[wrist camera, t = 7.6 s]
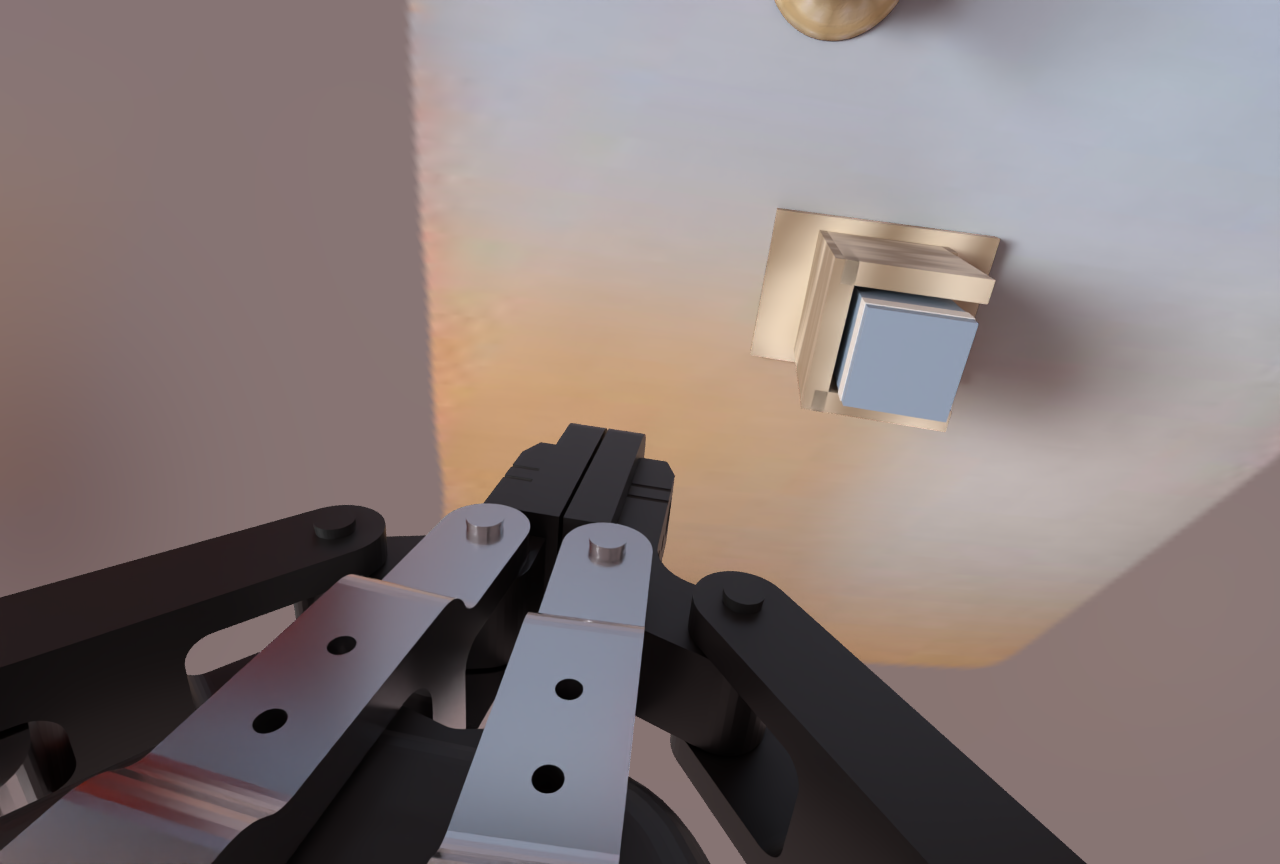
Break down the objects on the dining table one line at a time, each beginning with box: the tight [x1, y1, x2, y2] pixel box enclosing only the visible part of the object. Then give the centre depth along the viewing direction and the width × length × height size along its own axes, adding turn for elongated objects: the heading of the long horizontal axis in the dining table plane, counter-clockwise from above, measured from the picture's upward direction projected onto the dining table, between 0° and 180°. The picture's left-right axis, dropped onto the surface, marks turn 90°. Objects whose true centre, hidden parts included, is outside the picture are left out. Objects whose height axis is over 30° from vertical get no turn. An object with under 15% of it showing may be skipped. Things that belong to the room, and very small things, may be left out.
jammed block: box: [833, 285, 979, 422], centre depth 38 cm, size 5×5×14 cm
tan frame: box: [751, 208, 1000, 432], centre depth 40 cm, size 14×10×13 cm
